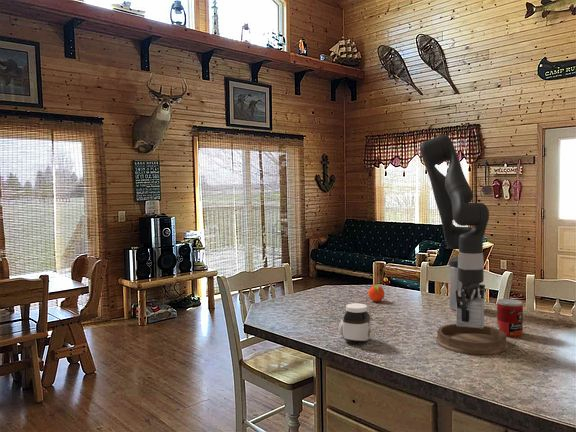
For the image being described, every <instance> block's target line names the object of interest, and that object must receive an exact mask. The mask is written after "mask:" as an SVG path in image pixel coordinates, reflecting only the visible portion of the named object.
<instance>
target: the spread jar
mask: <svg viewBox="0 0 576 432" xmlns="http://www.w3.org/2000/svg"><path fill="white" fill-rule="evenodd" d="M345 310H346V311H345V313H344V315H343V318H342V319H341V320H340V322H339V323H338V326H337V330H338V332H339V333H340V334H341V335H342V337H343V340H344V341H345V342H347V343H348V344H350V345H364V344H365V345H366V343H369V341H370V338H371V334H372V333H371V332H372V324H371V323H372V321H371V319H372V318H371V314H370V313H369V312H368V304H365V303H353V302H352V303H348V304H346V305H345Z"/></svg>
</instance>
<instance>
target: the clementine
mask: <svg viewBox="0 0 576 432" xmlns="http://www.w3.org/2000/svg"><path fill="white" fill-rule="evenodd" d="M367 293H368V297H369V299H370V300H371V301H372V302H376V303H377V302H380V301H382V300H383V299H384V298H385V290H384V289H383V287H381V286H380V285H377V284H375V285H372V286H371V287H370V288H369V290H368V292H367Z"/></svg>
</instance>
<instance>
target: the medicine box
mask: <svg viewBox="0 0 576 432" xmlns="http://www.w3.org/2000/svg"><path fill="white" fill-rule="evenodd" d="M466 300H469V299H466ZM460 305H461V302H460ZM466 306H467V303H466ZM455 311H456V313H455V315H456V316H455V317H456V319H455V320H456V321H455V322H456V323H455V324H456V326H462V327H472V328H482V329H483V327H484V326H485V298H484V299H481V298H480V299H477V298H473V301H472V303H471V304H470V308H469V322H463V321H462V310H461V309H460V308H457V301H456V310H455Z"/></svg>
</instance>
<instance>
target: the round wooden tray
mask: <svg viewBox="0 0 576 432" xmlns="http://www.w3.org/2000/svg"><path fill="white" fill-rule="evenodd" d="M436 332H437V336H436V343H437V345H438V346H440V347H441V348H443V349H445V350H448V351H451V352H453V353H454V352H455V353H458V354H459V353H460V354H465V355H472V356H473V355H474V356H490V355H491V356H493V355H498V354H502V353H504V352H506V351H507V350H508V349H509V343H508V341H507V337H506V334H505V333H504V332H503V331H501V330H499V329H497V327H492V326H489V325H484V327H483V329H482V328H472V327H462V326H456V323H451V324H445V325H442V326H440V327H438V329H437V331H436Z"/></svg>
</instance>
